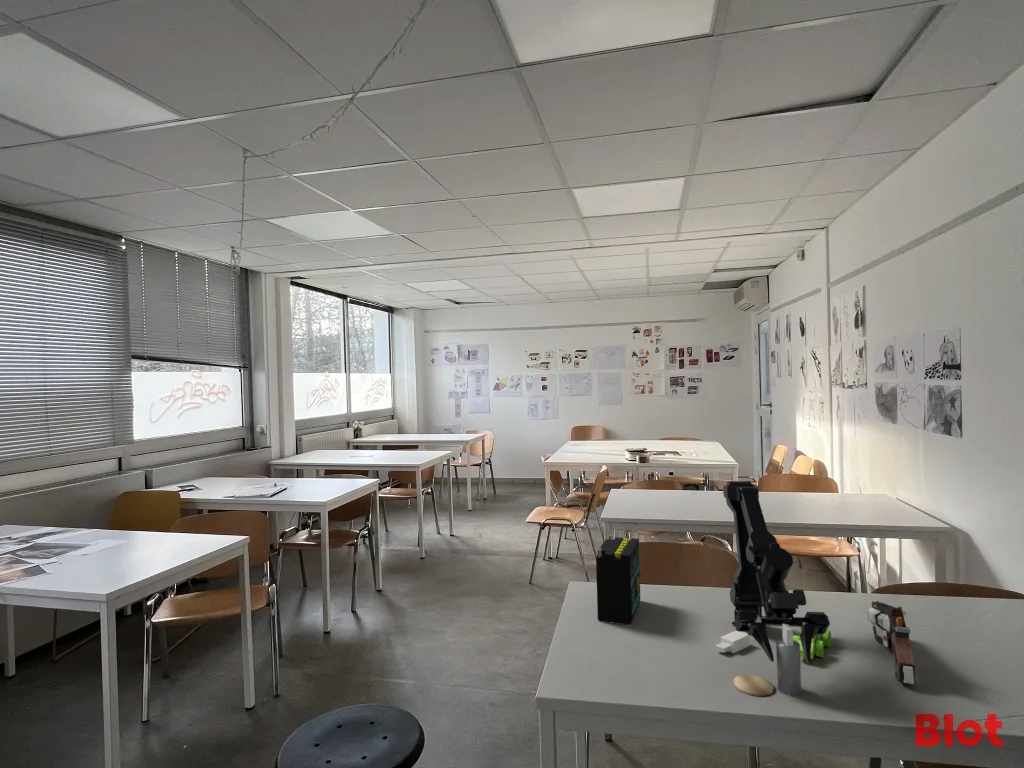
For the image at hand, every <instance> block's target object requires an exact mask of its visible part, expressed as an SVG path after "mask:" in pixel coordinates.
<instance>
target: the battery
mask: <svg viewBox="0 0 1024 768" xmlns="http://www.w3.org/2000/svg"><path fill="white" fill-rule="evenodd" d="M595 564H596V565H595V568H596V569H595V572H596V577H595V578H596V602H597V603H596V604H597V606H596V607H597V620H598V622H601V621H605V622H604V623H609V622H613V623H612V624H618V623H620V624H619V625H632V623H633V622H634V621H633V620H634V618H635V615H636V613H637V609H638V608H639V604H640V601H641V576H640V573H641V572H640V571H641V570H640V569H641V567H640V538H634V537H631V538H630V539H628V538H624V537H615V538H614V539H612V534H610V535H608V538H607V539H605V540H604V542H603V543H602V544H601V546H599V548H598V549H597V555H596V556H595Z"/></svg>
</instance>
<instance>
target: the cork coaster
mask: <svg viewBox="0 0 1024 768" xmlns="http://www.w3.org/2000/svg"><path fill="white" fill-rule="evenodd" d="M733 686H734V687H735V689H736V690H738V691H740V692H741V693H743V694H746V695H749V696H753V695H755V696H754V697H766V695H767V696H769V695H772V694H773V693H774V691H773V690H774V689H775V688H774V685H773V683H772V682H771V681H770V680H769V679H767V678H765V677H763V676H758V675H754V674H753V675H752V674H741V675H737V676H735V677H734V678H733Z"/></svg>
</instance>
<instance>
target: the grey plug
mask: <svg viewBox="0 0 1024 768" xmlns="http://www.w3.org/2000/svg"><path fill="white" fill-rule="evenodd" d="M781 628H782V630H781V631H782V638H778V639H776V641H775V649H776V680H777V683H776V684H777V690H778V691H779V692H780V691H781V692H780V693H782V692H783V693H782V694H784V693H785V694H784V695H786V694H788V695H787V696H791V695H797V696H800V695H801V694H802V673H801V671H802V669H801V666H802V665H801V656H800V644H799V643H798V642H796V641H794V640H793V636H794V634H793V633H794V632H793V631H794V630H793V628H792V626H789V625H788V624H782V626H781ZM789 694H790V695H789ZM799 694H800V695H799Z"/></svg>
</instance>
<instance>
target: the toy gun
mask: <svg viewBox="0 0 1024 768" xmlns="http://www.w3.org/2000/svg"><path fill="white" fill-rule="evenodd" d="M906 615H907V612H906V611H904V610H903V607H901V606H898V607H896V606H892V605H891V604H890V605H889V604H887V603H884V602H880V601H879V600H876V601H871V607H870V608H869V609H868V610H866V618H867V620H868V622H870V624H871V625H872V631H873V635H874V640H875V639H876V640H875V641H876V642H878V643H880V644H881V645H883V646H884V647H886V648H887V649H888V652H889V653H890V654H893V655H892V656H893V662H894V663H893V664H894V669H895V672H894V674H895V675H894V676H895V679H897V680H898V681H899V682H900V683H904V684H910V685H916V675H915V673H916V672H915V671H916V662H915V659H914V654H913V650H912V649H913V648H912V646H911V640H910V634H911V629H910V628H909V627H907V624H906V620H905V616H906Z"/></svg>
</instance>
